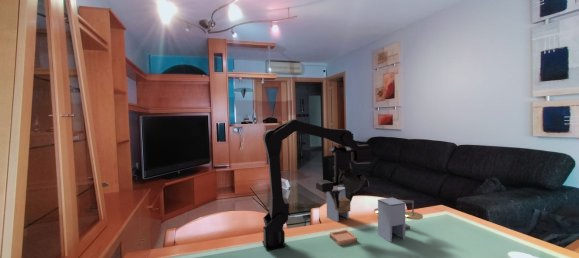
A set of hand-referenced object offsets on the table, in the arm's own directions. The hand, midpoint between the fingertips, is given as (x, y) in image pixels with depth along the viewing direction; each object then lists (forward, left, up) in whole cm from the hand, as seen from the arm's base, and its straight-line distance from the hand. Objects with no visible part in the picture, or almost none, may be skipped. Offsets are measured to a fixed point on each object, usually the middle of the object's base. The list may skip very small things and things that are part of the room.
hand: (342, 207), depth 99 cm
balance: (+24, 0, -11) cm, 26 cm away
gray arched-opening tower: (+16, -7, -11) cm, 20 cm away
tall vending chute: (+7, +16, -11) cm, 21 cm away
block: (0, 0, -1) cm, 1 cm away
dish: (-1, -2, -11) cm, 11 cm away
